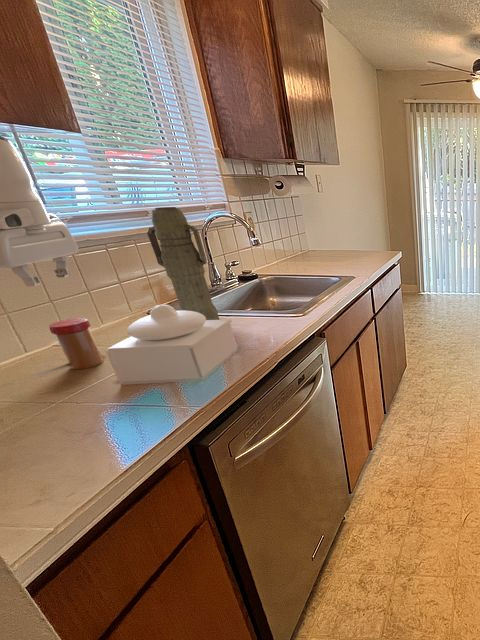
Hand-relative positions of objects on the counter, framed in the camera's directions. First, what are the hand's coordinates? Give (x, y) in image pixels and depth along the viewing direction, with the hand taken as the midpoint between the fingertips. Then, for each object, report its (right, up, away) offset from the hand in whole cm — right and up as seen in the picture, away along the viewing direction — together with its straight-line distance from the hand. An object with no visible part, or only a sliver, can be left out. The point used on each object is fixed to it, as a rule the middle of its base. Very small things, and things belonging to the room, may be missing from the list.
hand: (49, 281), depth 91 cm
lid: (0, -9, +4) cm, 10 cm away
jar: (0, -19, +9) cm, 21 cm away
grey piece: (+16, -10, +29) cm, 34 cm away
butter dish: (+26, -20, +7) cm, 33 cm away
